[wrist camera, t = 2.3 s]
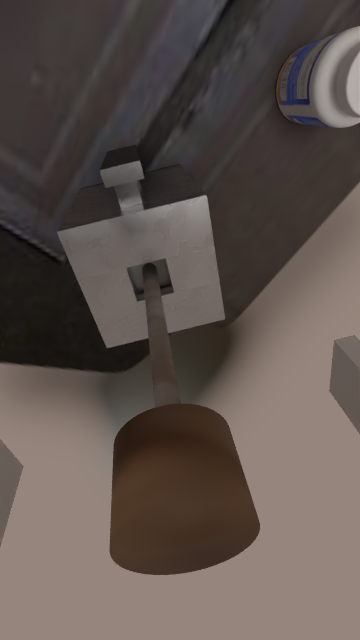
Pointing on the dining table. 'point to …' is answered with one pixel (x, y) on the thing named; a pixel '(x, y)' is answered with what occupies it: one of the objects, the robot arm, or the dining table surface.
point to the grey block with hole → (142, 247)
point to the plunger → (175, 469)
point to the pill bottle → (323, 82)
